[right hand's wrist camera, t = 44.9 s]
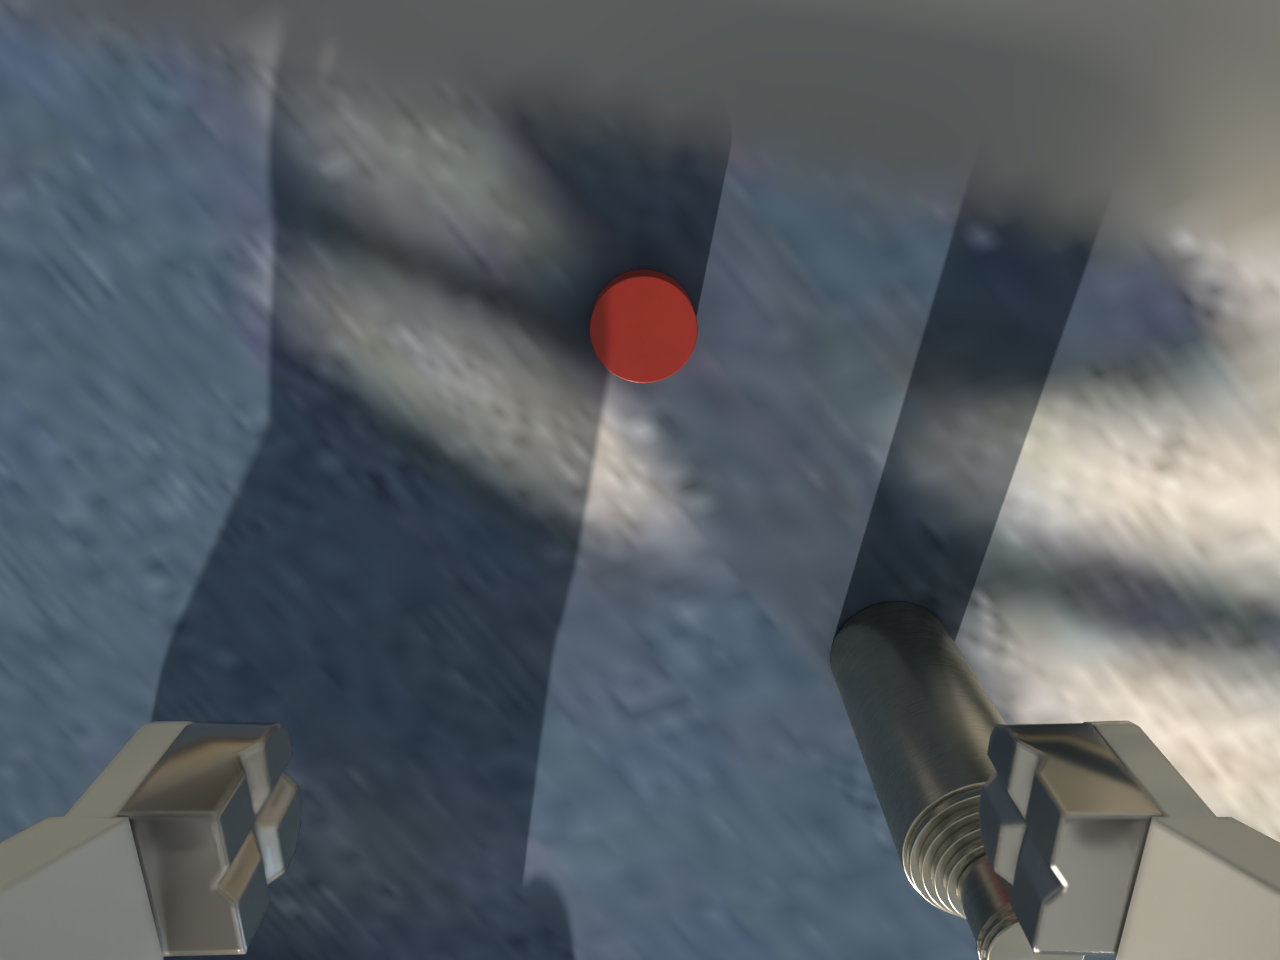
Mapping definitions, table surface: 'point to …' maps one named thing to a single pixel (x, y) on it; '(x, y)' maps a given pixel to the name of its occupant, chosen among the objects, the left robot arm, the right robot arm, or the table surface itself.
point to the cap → (643, 326)
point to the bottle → (929, 762)
